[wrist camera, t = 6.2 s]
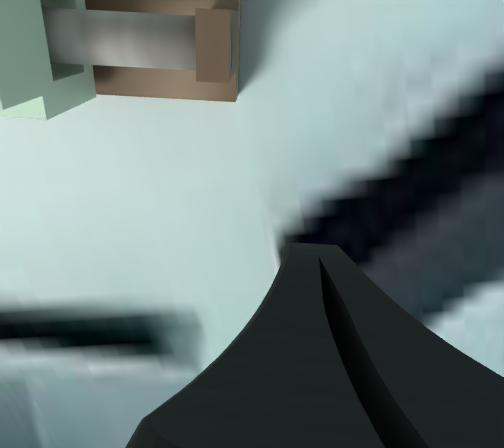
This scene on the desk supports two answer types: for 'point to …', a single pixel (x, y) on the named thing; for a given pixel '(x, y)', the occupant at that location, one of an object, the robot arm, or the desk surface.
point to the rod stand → (151, 46)
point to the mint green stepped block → (37, 65)
